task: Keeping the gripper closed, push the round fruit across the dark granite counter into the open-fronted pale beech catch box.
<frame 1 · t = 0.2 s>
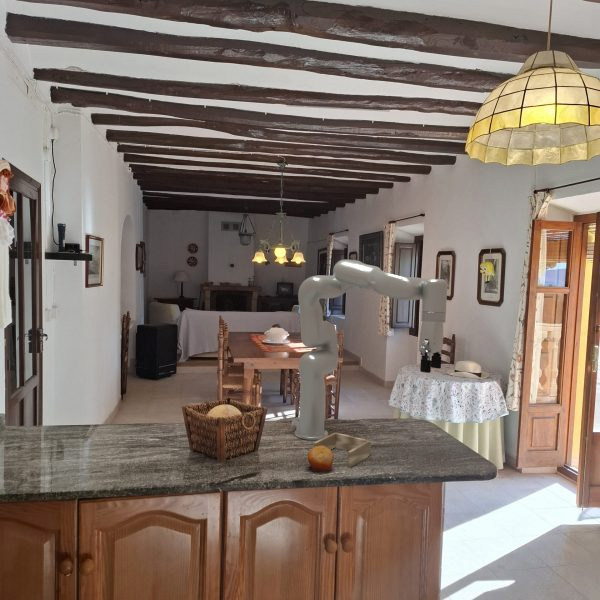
hand: (430, 370, 165), 31 cm above the counter, tool pointing down, fingers open, 9 cm apart
fruit: (319, 469, 159), on the counter
catch box: (341, 456, 171), on the counter
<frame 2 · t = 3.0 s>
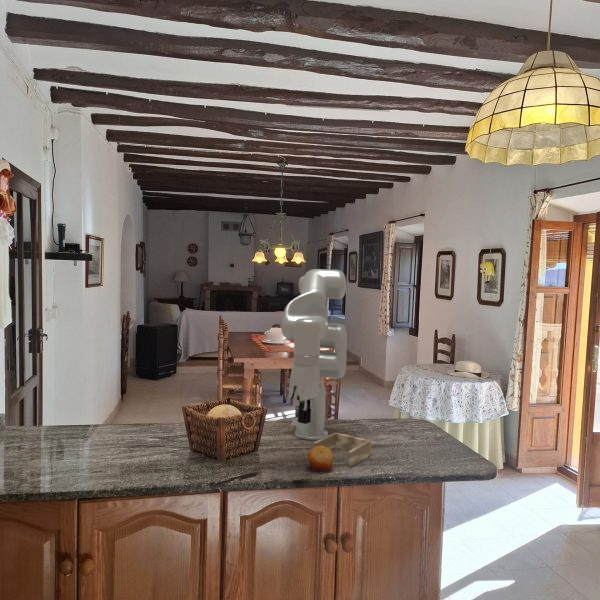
hand: (304, 422, 150), 17 cm above the counter, tool pointing down, fingers closed
nothing on the counter moved.
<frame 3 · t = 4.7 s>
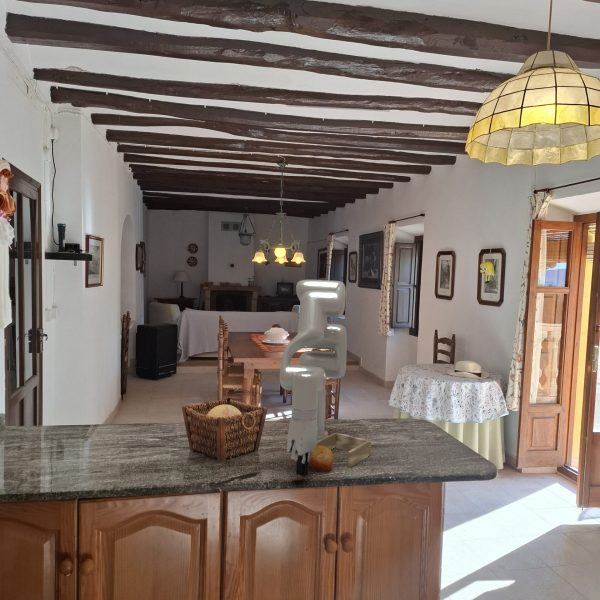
hand: (302, 474, 151), 1 cm above the counter, tool pointing down, fingers closed
nothing on the counter moved.
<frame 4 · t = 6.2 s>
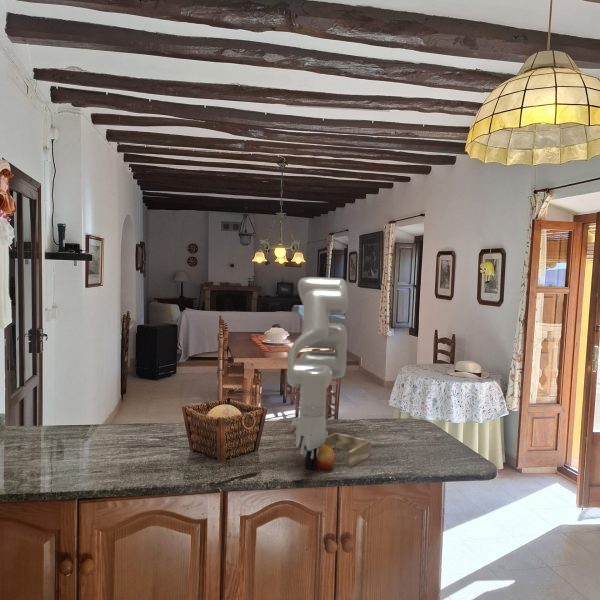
hand: (310, 469, 155), 1 cm above the counter, tool pointing down, fingers closed
fruit: (321, 468, 160), on the counter, touching gripper
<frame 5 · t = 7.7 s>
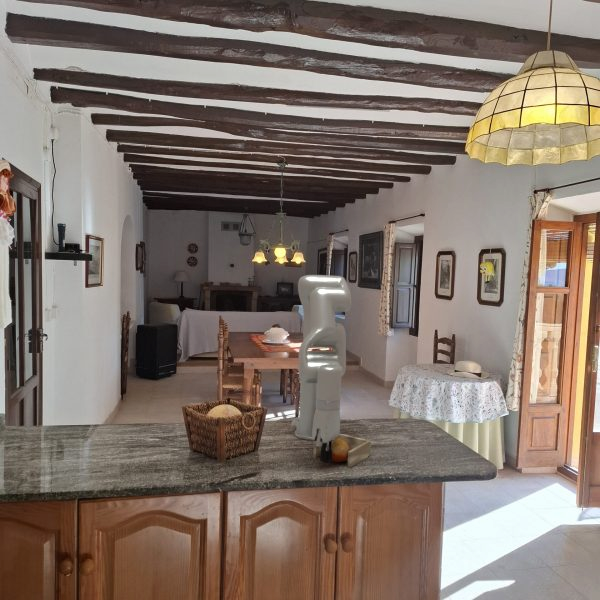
hand: (325, 461, 162), 1 cm above the counter, tool pointing down, fingers closed
fruit: (336, 461, 167), on the counter, touching gripper
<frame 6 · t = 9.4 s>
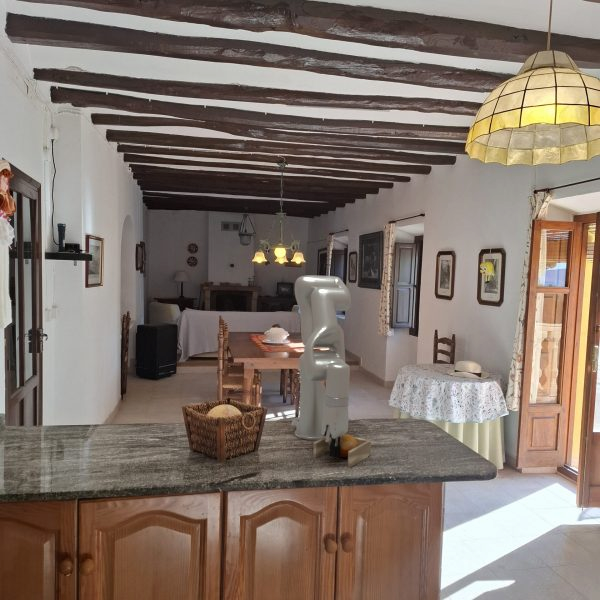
hand: (334, 456, 167), 1 cm above the counter, tool pointing down, fingers closed
fruit: (345, 456, 171), on the counter, touching gripper
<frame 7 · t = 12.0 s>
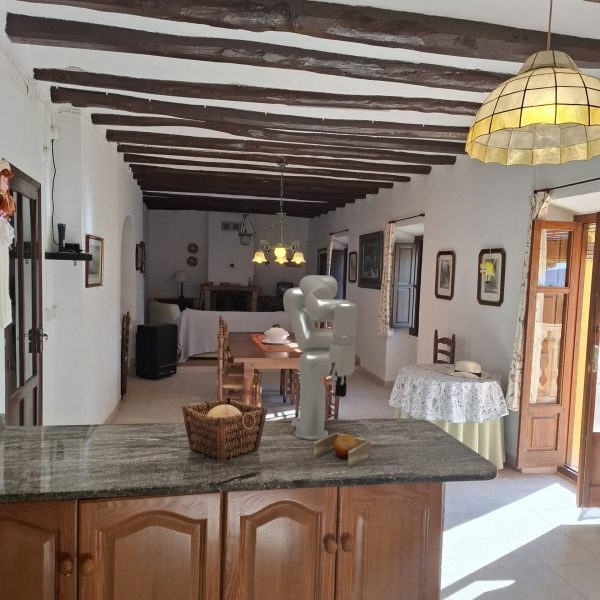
hand: (340, 395, 167), 21 cm above the counter, tool pointing down, fingers closed
fruit: (345, 456, 172), on the counter
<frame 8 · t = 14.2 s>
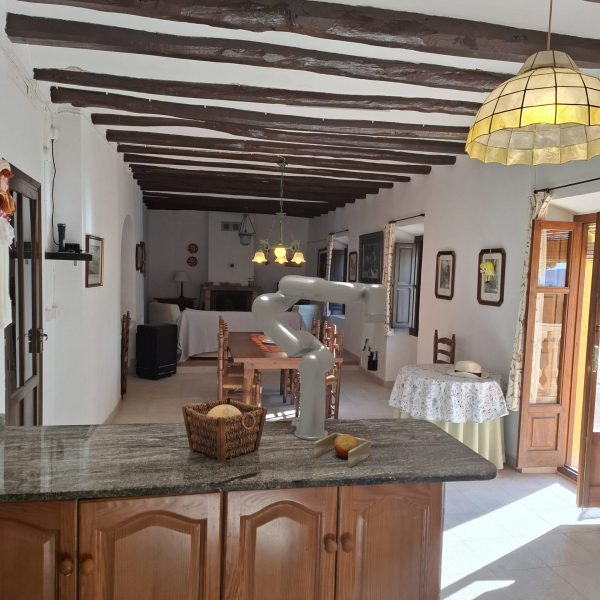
hand: (372, 370, 182), 27 cm above the counter, tool pointing down, fingers closed
nothing on the counter moved.
at the end: fruit inside the target area on the catch box (1.8 cm from its centre), point 0.0 cm above the catch box's base; fruit moved 15.0 cm from its start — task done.
